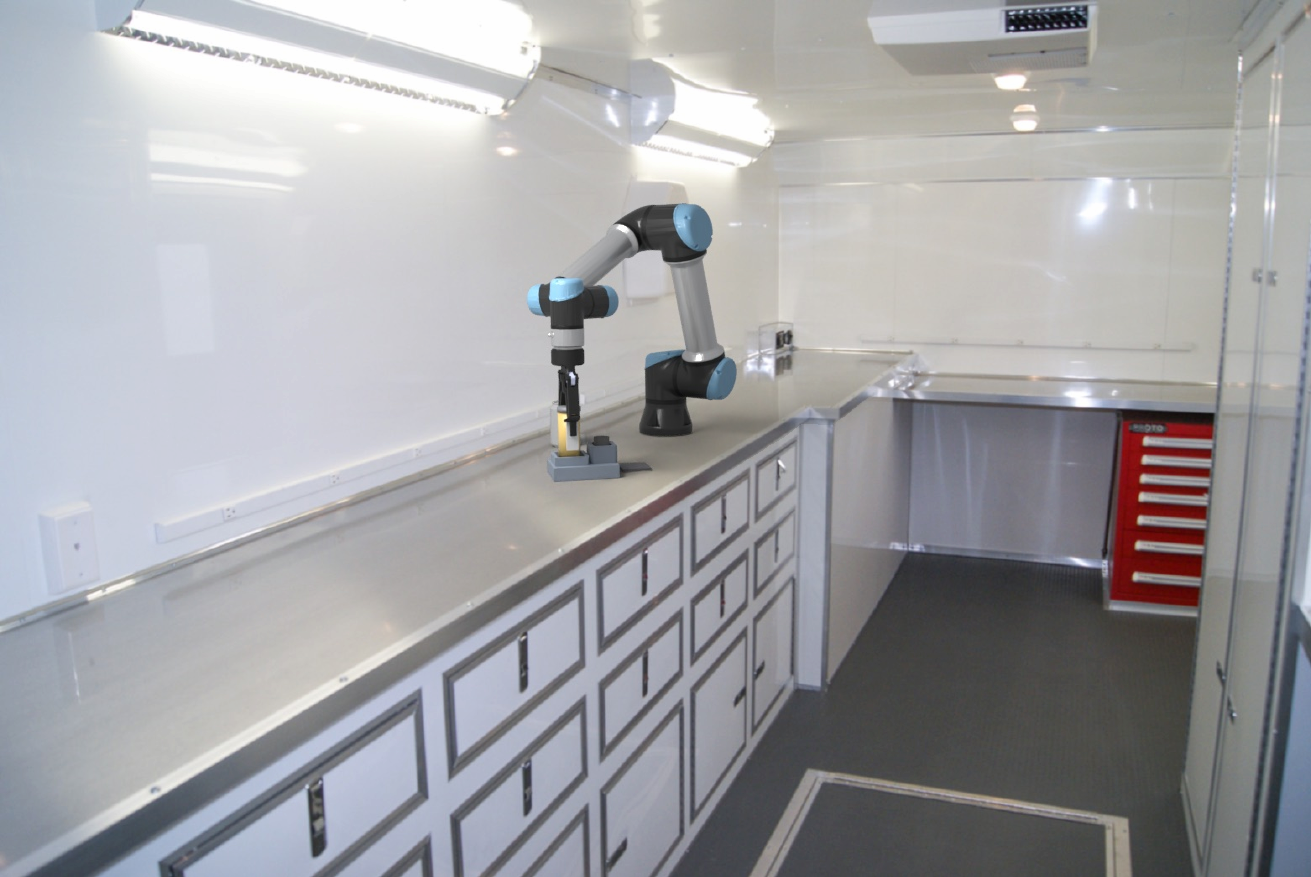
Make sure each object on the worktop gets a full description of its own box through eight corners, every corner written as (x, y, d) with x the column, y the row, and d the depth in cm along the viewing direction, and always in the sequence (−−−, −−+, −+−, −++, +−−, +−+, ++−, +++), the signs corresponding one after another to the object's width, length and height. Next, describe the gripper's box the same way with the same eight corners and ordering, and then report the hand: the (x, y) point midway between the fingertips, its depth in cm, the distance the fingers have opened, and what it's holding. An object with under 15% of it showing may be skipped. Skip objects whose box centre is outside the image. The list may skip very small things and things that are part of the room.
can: (581, 443, 277) (580, 399, 275) (576, 448, 270) (575, 403, 267) (553, 443, 278) (552, 398, 275) (548, 448, 270) (547, 403, 268)
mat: (644, 464, 250) (644, 461, 250) (651, 470, 243) (651, 467, 243) (616, 465, 248) (616, 463, 248) (622, 471, 242) (622, 469, 242)
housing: (610, 467, 246) (610, 439, 245) (620, 477, 235) (619, 447, 234) (547, 471, 242) (546, 442, 241) (554, 481, 232) (553, 451, 231)
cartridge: (579, 459, 241) (578, 404, 239) (583, 464, 236) (582, 407, 233) (556, 460, 240) (555, 405, 237) (559, 465, 234) (558, 408, 232)
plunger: (607, 456, 241) (607, 435, 241) (611, 459, 238) (610, 437, 237) (592, 457, 241) (592, 435, 240) (595, 460, 237) (595, 438, 236)
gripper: (544, 343, 242) (546, 439, 246) (558, 352, 222) (560, 456, 226) (576, 342, 244) (577, 437, 248) (592, 351, 224) (594, 454, 228)
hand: (569, 446), depth 237 cm, fingers open, 8 cm apart
